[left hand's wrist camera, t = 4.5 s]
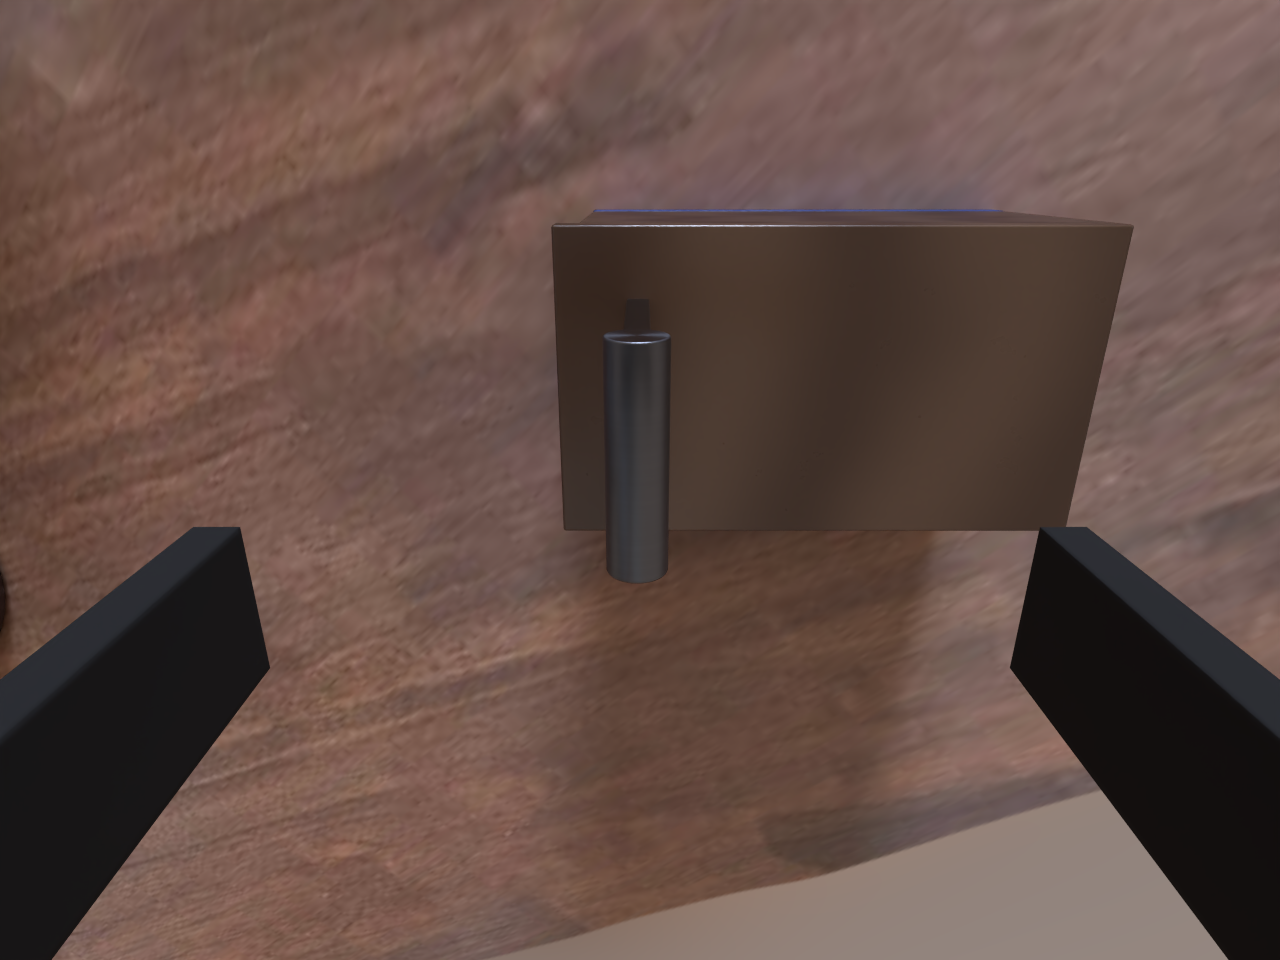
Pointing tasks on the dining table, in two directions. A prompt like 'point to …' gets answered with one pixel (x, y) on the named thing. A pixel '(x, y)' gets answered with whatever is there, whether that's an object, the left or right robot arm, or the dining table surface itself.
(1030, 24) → the dining table surface
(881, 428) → the lid
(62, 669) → the left robot arm
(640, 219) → the chest
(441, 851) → the dining table surface
